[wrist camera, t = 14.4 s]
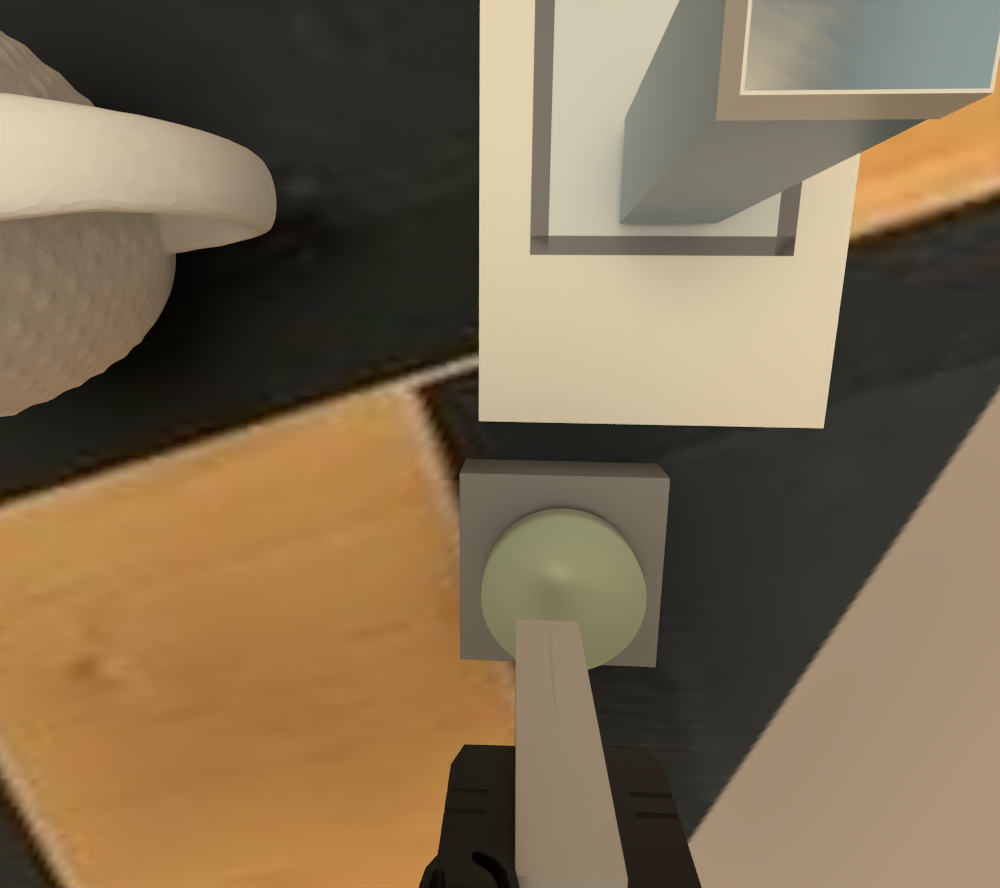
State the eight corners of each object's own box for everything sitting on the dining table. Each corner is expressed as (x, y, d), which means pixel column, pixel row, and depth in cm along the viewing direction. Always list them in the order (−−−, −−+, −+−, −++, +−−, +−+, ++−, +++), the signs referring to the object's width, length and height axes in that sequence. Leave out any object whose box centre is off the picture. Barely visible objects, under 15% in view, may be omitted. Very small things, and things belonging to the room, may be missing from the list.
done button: (488, 613, 22) (480, 669, 19) (489, 485, 21) (481, 518, 18) (624, 619, 22) (641, 676, 19) (632, 489, 21) (652, 523, 18)
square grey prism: (613, 229, 19) (739, 95, 7) (618, 126, 18) (767, -202, 7) (709, 229, 19) (993, 92, 7) (718, 125, 18) (1046, -211, 7)
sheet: (479, 419, 21) (478, 421, 21) (482, -443, 16) (481, -464, 15) (818, 426, 21) (823, 428, 20) (936, -470, 15) (948, -492, 15)
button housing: (466, 629, 23) (460, 658, 21) (466, 458, 22) (459, 473, 20) (645, 637, 23) (655, 667, 21) (657, 463, 21) (669, 478, 19)
